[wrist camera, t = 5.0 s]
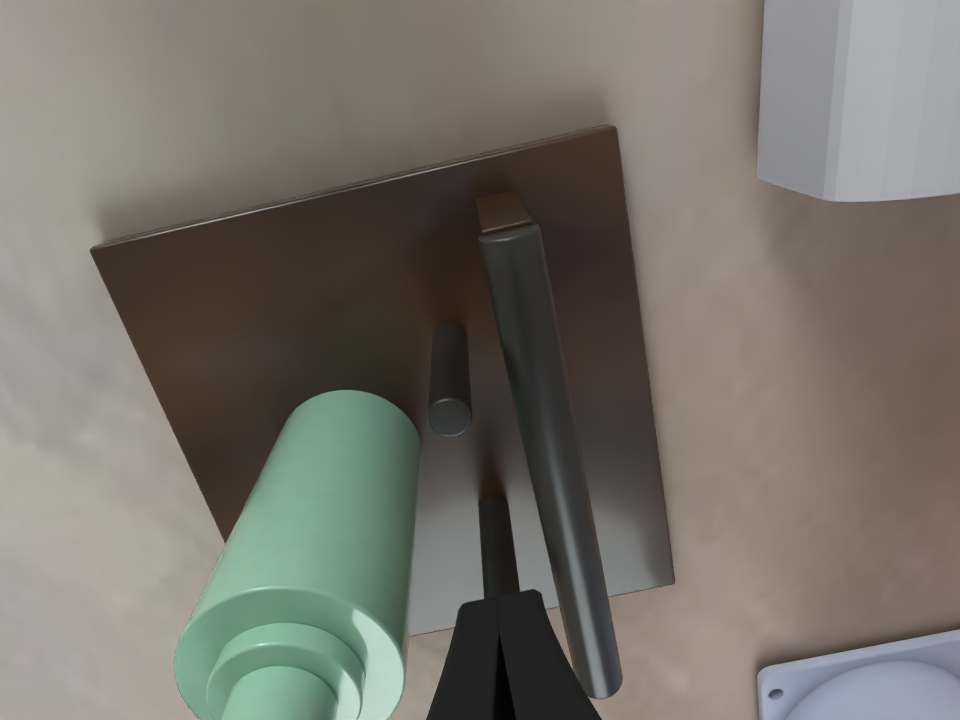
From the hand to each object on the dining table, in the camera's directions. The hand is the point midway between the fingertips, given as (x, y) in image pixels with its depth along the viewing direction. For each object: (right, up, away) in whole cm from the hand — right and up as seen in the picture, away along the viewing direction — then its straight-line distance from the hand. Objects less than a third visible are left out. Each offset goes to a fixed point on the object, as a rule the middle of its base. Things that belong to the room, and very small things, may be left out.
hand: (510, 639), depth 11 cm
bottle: (-2, +3, +7) cm, 8 cm away
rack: (-2, +3, +8) cm, 9 cm away
